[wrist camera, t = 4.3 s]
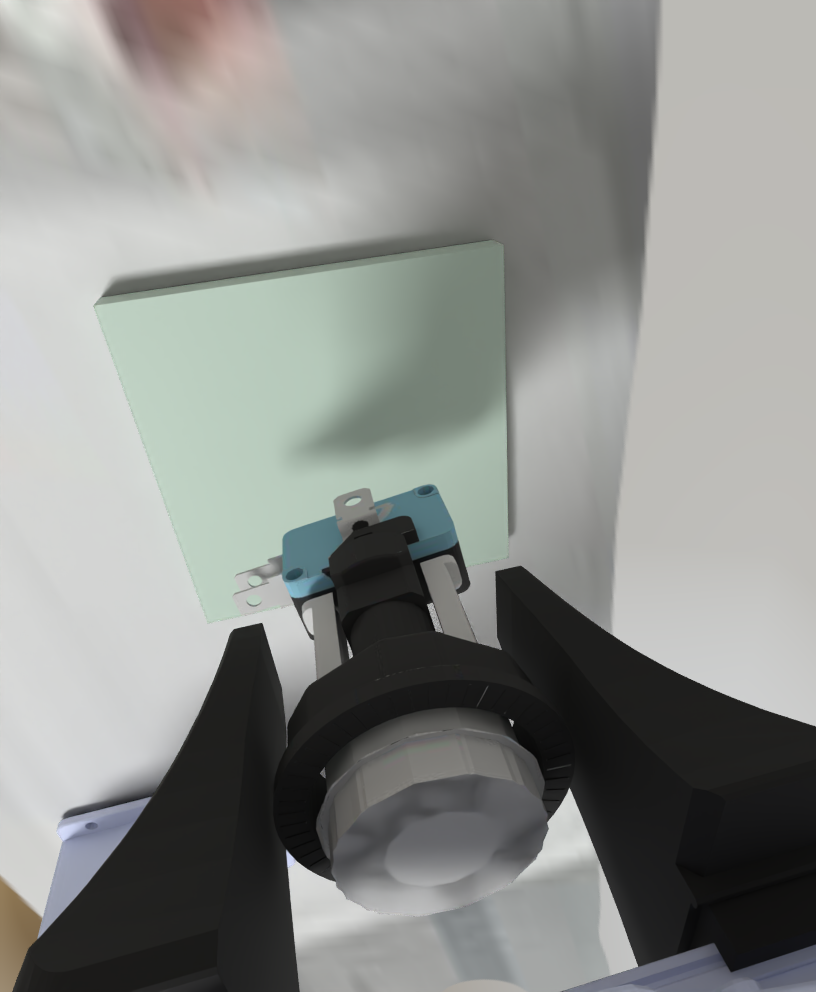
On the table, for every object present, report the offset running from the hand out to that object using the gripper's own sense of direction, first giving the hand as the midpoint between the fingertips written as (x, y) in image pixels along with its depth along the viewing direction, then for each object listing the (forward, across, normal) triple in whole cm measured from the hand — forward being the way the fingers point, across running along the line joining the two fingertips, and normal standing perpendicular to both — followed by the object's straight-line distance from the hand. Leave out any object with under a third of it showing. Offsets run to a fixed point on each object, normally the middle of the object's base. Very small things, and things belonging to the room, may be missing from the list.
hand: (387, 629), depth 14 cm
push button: (+5, 0, +1) cm, 5 cm away
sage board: (+10, 0, 0) cm, 10 cm away
